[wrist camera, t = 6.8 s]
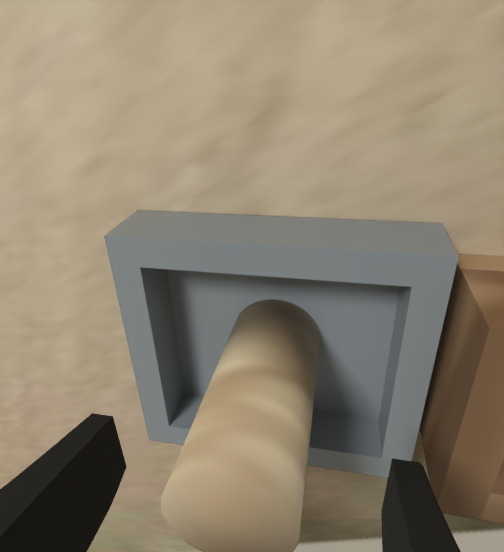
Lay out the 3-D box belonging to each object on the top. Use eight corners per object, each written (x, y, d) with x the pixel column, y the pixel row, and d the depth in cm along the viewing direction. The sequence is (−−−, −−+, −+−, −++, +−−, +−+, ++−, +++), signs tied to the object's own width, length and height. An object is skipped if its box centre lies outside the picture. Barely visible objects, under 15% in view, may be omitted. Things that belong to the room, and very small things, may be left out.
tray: (441, 223, 13) (458, 256, 11) (400, 430, 17) (407, 480, 15) (137, 210, 15) (104, 235, 13) (170, 398, 19) (148, 439, 17)
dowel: (322, 303, 14) (301, 489, 8) (318, 374, 16) (297, 576, 10) (232, 295, 15) (151, 464, 9) (236, 364, 16) (170, 548, 10)
